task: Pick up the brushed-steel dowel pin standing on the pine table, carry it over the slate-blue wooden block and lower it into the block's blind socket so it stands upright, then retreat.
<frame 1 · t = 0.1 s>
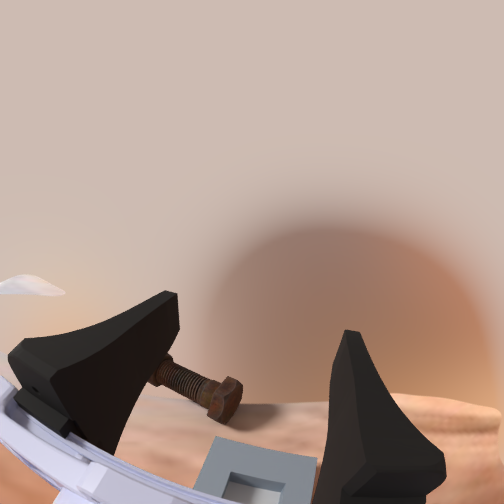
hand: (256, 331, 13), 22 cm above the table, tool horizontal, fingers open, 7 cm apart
bolt: (178, 390, 34), on the table
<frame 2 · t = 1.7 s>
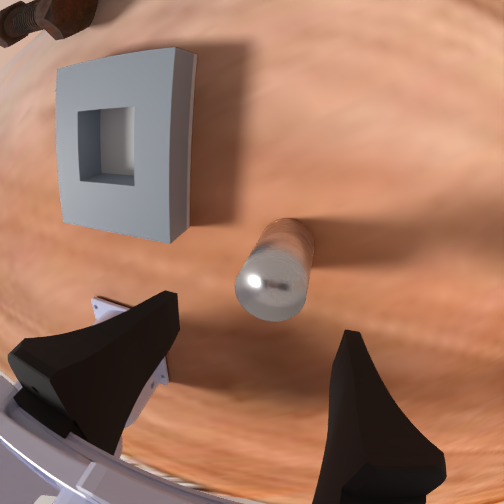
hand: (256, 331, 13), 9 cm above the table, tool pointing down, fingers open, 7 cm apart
bolt: (46, 19, 17), on the table
hole block: (129, 140, 20), on the table
pin: (287, 244, 20), on the table
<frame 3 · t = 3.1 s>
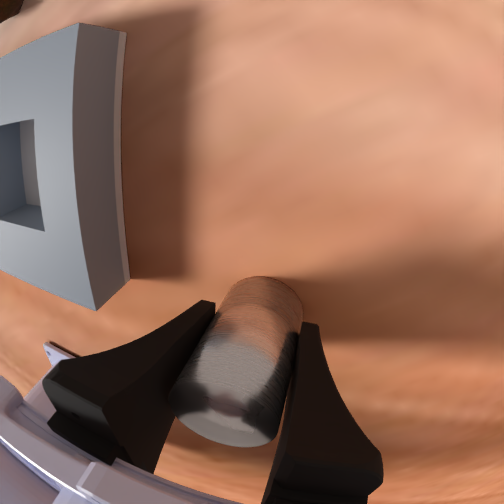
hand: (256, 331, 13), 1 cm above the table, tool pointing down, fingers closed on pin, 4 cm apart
hole block: (52, 160, 13), on the table
pin: (263, 311, 14), on the table, touching gripper
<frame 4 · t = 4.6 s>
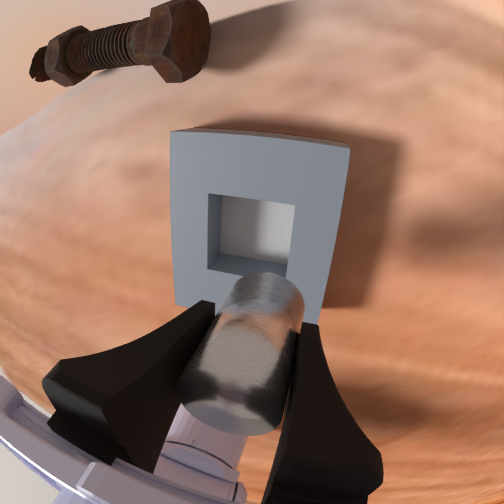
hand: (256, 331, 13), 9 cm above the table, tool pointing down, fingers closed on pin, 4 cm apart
bolt: (120, 50, 18), on the table
hole block: (259, 222, 21), on the table
pin: (266, 305, 14), point 7 cm above the table, touching gripper
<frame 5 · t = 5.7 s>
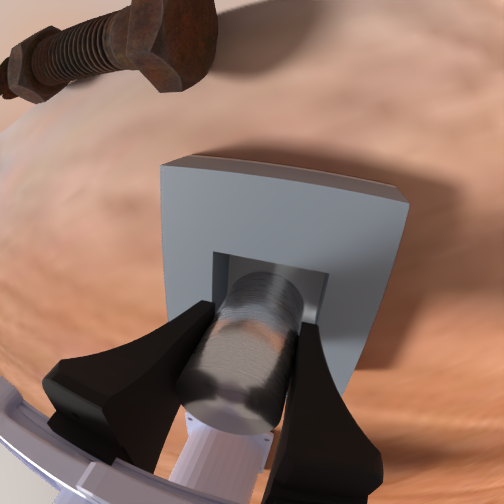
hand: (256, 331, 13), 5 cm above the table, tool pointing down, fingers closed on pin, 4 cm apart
bolt: (101, 53, 14), on the table
hole block: (275, 277, 17), on the table
pin: (265, 305, 14), point 3 cm above the table, touching gripper
when the fingers open (4 cm above the table, at t = 6.3 s): pin drops 1 cm, resting on hole block.
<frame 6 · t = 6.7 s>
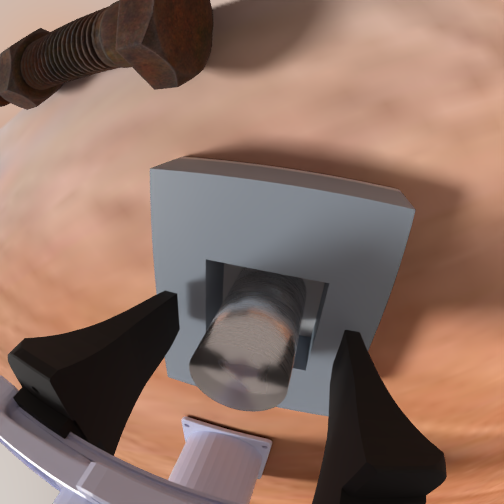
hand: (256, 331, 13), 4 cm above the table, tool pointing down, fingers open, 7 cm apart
bolt: (93, 54, 13), on the table
hole block: (273, 285, 16), on the table
pin: (270, 291, 15), point 1 cm above the table, touching hole block
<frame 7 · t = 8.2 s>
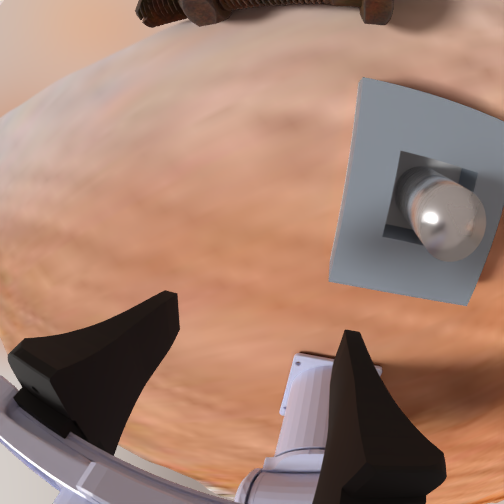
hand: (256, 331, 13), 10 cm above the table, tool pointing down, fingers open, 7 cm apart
hole block: (419, 191, 17), on the table
pin: (420, 194, 17), point 1 cm above the table, touching hole block
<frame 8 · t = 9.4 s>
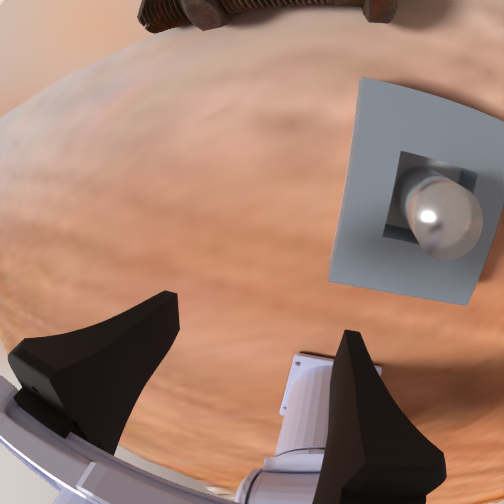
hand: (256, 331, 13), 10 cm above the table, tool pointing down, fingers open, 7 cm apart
hole block: (419, 191, 17), on the table
pin: (420, 194, 17), point 1 cm above the table, touching hole block
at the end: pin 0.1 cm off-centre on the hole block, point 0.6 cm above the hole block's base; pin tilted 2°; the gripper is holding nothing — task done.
